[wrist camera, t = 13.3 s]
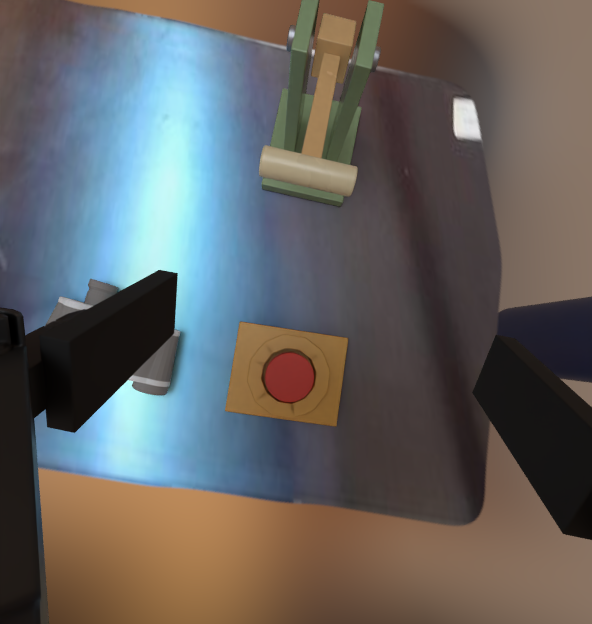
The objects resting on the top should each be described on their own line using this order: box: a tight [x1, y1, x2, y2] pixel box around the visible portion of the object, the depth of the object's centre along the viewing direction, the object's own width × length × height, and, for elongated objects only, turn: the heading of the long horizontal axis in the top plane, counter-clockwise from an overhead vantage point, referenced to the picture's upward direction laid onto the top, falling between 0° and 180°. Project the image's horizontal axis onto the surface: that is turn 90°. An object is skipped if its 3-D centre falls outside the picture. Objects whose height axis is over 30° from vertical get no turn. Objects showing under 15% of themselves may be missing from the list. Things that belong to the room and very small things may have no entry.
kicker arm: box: [259, 13, 358, 197], centre depth 22 cm, size 13×5×2 cm, turn 168°
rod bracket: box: [262, 0, 384, 207], centre depth 30 cm, size 10×8×15 cm
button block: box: [225, 322, 348, 426], centre depth 33 cm, size 10×8×4 cm
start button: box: [265, 352, 314, 402], centre depth 31 cm, size 4×4×2 cm
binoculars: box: [45, 279, 181, 395], centre depth 33 cm, size 12×8×4 cm, turn 74°
